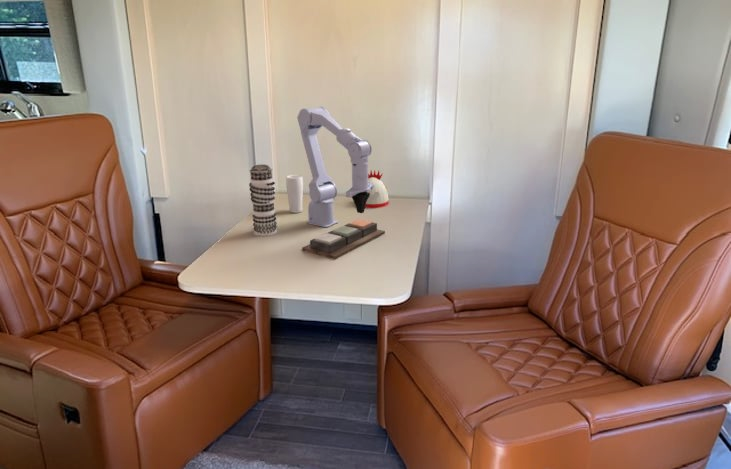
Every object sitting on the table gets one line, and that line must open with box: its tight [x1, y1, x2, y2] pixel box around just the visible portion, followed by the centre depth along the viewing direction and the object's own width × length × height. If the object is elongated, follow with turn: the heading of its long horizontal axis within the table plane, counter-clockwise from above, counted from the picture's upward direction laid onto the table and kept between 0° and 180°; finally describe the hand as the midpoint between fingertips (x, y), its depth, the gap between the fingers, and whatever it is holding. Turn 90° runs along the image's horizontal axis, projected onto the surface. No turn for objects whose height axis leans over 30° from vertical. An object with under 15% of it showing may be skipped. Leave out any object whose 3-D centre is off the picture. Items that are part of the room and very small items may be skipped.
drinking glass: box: [285, 174, 304, 214], centre depth 216 cm, size 7×7×15 cm
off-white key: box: [314, 232, 342, 244], centre depth 175 cm, size 6×6×2 cm
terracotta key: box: [347, 218, 374, 229], centre depth 190 cm, size 6×6×2 cm
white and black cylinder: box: [248, 164, 278, 237], centre depth 190 cm, size 9×9×25 cm
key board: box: [301, 222, 386, 260], centre depth 183 cm, size 14×30×4 cm, turn 146°
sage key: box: [331, 225, 358, 236], centre depth 183 cm, size 6×6×2 cm
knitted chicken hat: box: [365, 169, 390, 209], centre depth 227 cm, size 14×14×15 cm
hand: (360, 212), depth 188 cm, fingers closed
